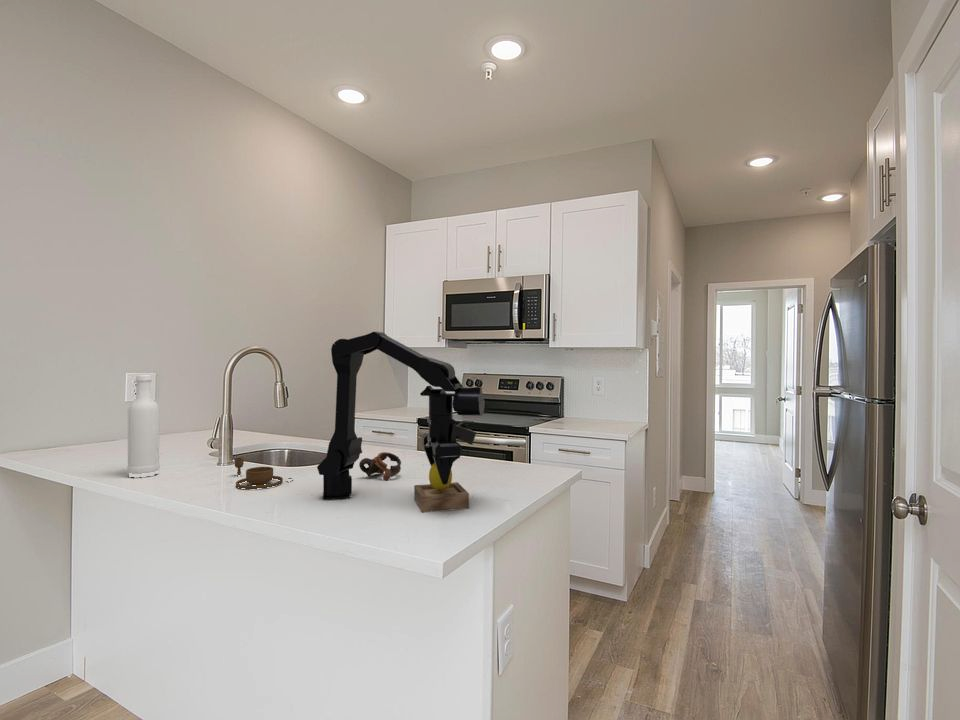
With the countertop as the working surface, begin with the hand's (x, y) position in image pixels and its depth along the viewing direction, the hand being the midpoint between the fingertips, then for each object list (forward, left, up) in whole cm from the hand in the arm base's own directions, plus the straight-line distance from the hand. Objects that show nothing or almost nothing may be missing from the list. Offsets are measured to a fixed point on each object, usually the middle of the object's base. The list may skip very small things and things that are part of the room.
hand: (440, 479), depth 121 cm
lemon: (0, 0, -3) cm, 3 cm away
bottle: (-79, +54, -6) cm, 96 cm away
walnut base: (0, 0, -6) cm, 6 cm away
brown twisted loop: (-11, +31, -6) cm, 34 cm away
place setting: (-44, +36, -7) cm, 58 cm away
